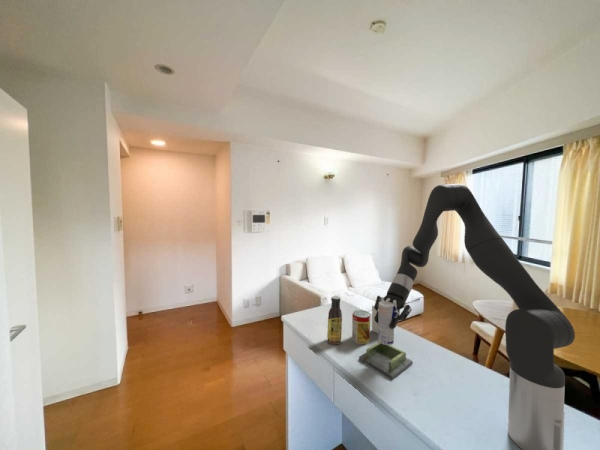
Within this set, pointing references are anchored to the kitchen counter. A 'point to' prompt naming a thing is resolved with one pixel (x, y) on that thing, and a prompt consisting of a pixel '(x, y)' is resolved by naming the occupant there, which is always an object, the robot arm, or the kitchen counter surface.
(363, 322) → the canned food
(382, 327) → the beverage can
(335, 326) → the sauce bottle
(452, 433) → the kitchen counter surface
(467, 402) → the kitchen counter surface
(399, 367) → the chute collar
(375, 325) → the supplement box
